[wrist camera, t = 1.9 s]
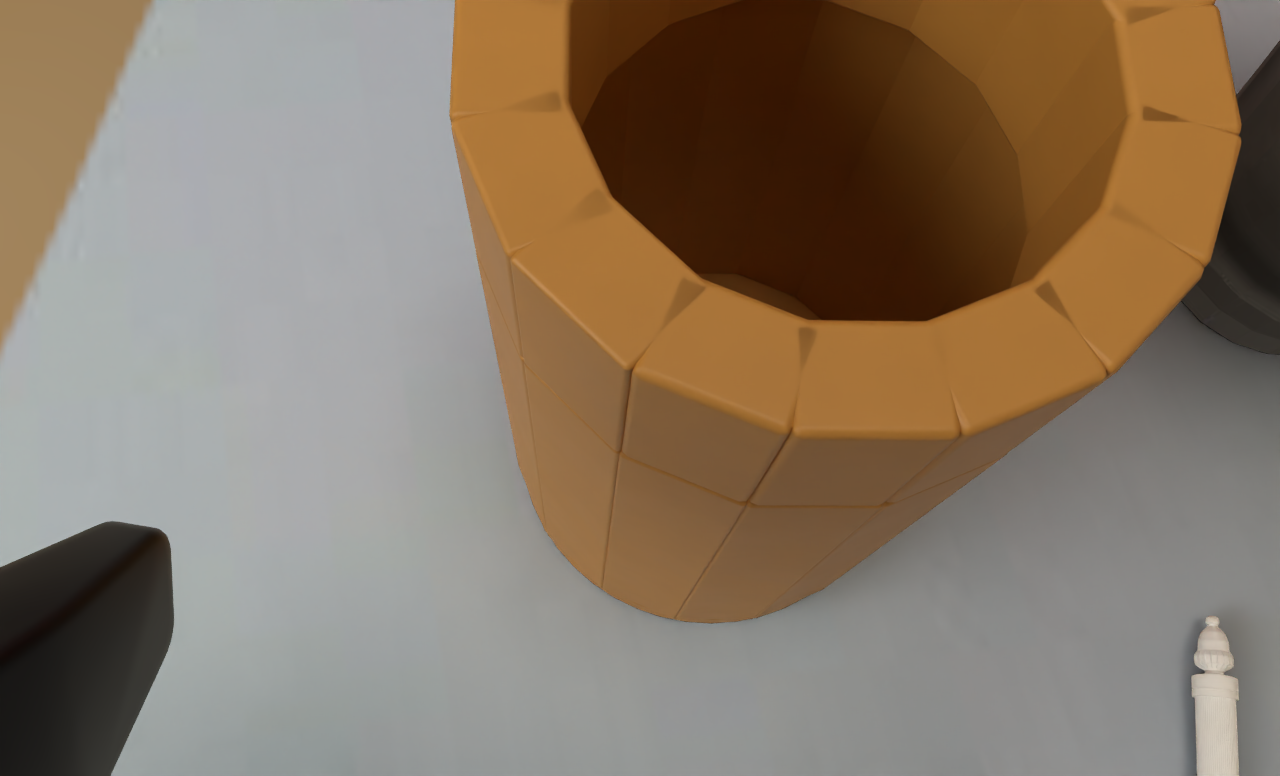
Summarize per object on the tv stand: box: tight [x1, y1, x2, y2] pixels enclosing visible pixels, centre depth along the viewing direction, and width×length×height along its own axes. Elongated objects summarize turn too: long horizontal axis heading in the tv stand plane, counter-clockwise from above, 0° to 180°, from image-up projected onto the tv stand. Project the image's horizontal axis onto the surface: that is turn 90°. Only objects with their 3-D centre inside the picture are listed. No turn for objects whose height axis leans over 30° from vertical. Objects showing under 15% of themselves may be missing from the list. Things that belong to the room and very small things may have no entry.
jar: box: [450, 0, 1242, 623], centre depth 16 cm, size 7×7×12 cm
